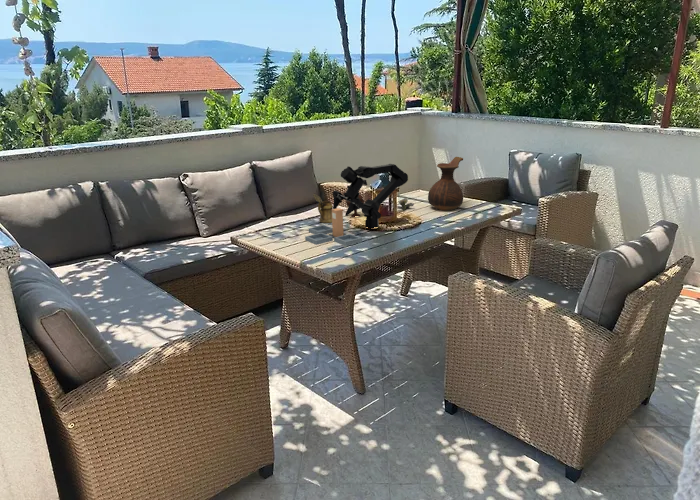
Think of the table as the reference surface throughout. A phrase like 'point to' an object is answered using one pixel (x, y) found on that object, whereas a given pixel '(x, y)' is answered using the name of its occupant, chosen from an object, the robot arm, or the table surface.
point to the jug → (446, 188)
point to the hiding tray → (318, 238)
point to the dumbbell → (404, 201)
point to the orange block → (337, 222)
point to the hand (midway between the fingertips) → (339, 213)
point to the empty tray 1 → (321, 229)
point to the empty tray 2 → (348, 239)
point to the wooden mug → (324, 209)
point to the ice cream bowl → (356, 209)
